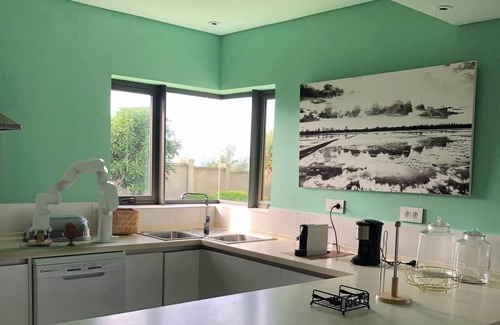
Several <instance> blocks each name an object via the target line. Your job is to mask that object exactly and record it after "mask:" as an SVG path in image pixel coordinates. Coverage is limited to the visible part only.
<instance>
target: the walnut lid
mask: <svg viewBox="0 0 500 325" xmlns="http://www.w3.org/2000/svg"><path fill="white" fill-rule="evenodd" d="M27 243H28V245H35V244H52V243H53V240H52V239H46V240H45V241H44V233H37V241H36V240H35V239H28V242H27Z"/></svg>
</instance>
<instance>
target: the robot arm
mask: <svg viewBox="0 0 500 325" xmlns="http://www.w3.org/2000/svg"><path fill="white" fill-rule="evenodd" d="M105 164H106V163H105V161H104V160H103V159H102V158H95V157H93V158H91V157H90V158H89V159H87V160H76V161H74V162H72V163H71V165H70V166H69V167H68V169H66V171H65V173H64V174H63V175H62V177H61V178H60V179H59V180H57V181H56V182H55V183H54V184H53V185H52V186H51V187H50V188H49V190H48V191H47V192H46V193H42V192H41V193H36V195H35V208H34V210H35V212H34V214H33V217H32V225H30V228H29V229H28V231H29V232H30V233H32V234H33V235H34V240H36V241H37V234H38V231H43V234H44V241H45V240H47V235H48V234H49V233H50V232H52V231H53V228H52V227H51V225H50V213H51V211H50V210H49V205H52V206H57V205H59V204H61V203H62V202H63V197H62V196H61V194H62V193H63V192H64V191H65V190H67V189H68V188H70V187H72V186H73V185H74V184H75V183H76V181H77V180H78V178H79V177H80V176H81V175H87V174H91V173H94V175H95V177H96V183H97V184H96V185H97V191H98V193H99V194H100V195H103V197H100V198H99V200H98V203H97V208H98V222H97V223H98V225H97V239H94V241H95V242H96V243H103V244H105V243H108V244H109V243H114V241H115V240H119V235H113V219H114V218H113V216H114V215H113V213H114V212H115V211H116V210H117V209H118V208H119V205H120V201H119V193H118V187H117V186H116V184H115V183H114V182H112V181H111V179H110V174H109V171H108V168H107V167H106V165H105Z"/></svg>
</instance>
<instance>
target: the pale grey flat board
mask: <svg viewBox="0 0 500 325" xmlns="http://www.w3.org/2000/svg"><path fill="white" fill-rule="evenodd" d="M59 248H60V247H59V243H58V242H52V244H35V245H28V242H27V243H25V242H22V243H21V244H20V249H21V250H22V249H25V250H26V249H27V250H28V249H59Z"/></svg>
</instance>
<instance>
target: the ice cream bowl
mask: <svg viewBox="0 0 500 325" xmlns="http://www.w3.org/2000/svg"><path fill="white" fill-rule="evenodd" d="M64 228H65V230H63V231H62V233H63V236H64V237H65V238H66V239H68V240H69V243H67V244H66V246H67V247H75V246H76V244H75V243H74V242H73V241H74V240H75V239H76V238H78V237H79V236H80V233H81V230H79V227H78V226H77V225H75V224H74V223H73V222H69V223H66V224H65V226H64Z"/></svg>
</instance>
